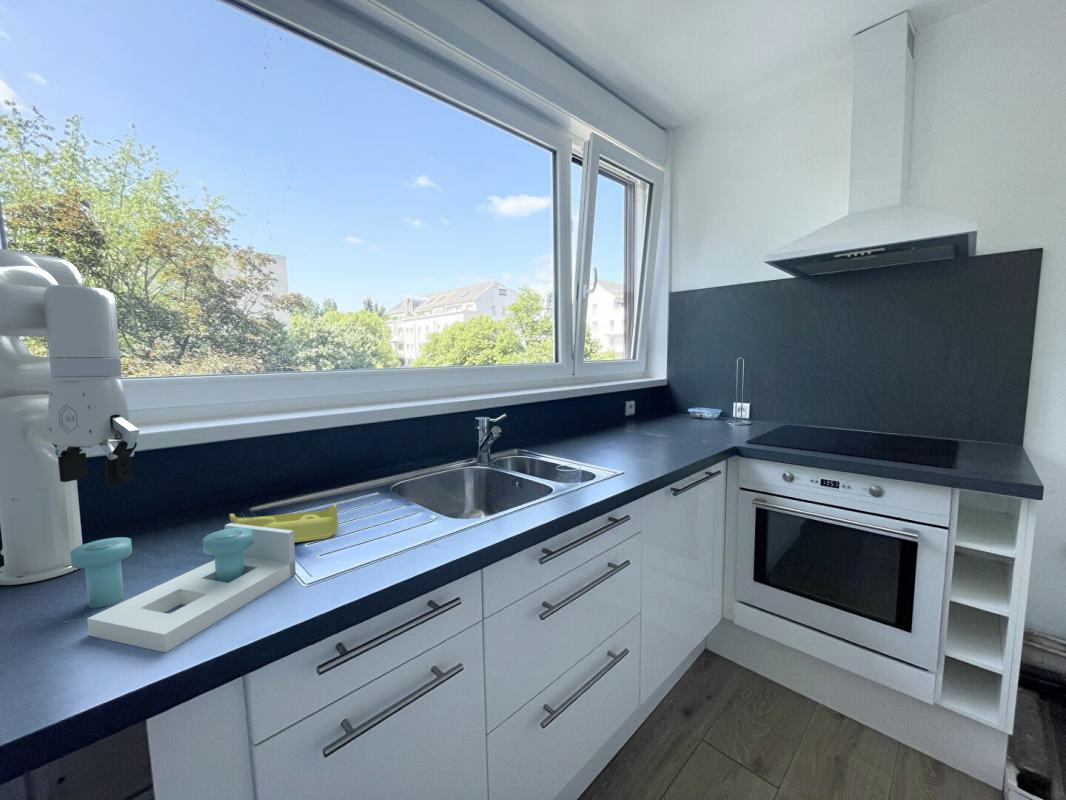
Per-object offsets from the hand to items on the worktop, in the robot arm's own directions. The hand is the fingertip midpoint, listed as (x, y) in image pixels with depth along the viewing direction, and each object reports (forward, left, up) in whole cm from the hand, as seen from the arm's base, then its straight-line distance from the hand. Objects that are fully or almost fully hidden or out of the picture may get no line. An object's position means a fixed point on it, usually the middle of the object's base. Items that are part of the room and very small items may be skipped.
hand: (97, 481), depth 68 cm
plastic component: (+7, +29, -20) cm, 36 cm away
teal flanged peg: (+15, +9, -19) cm, 26 cm away
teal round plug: (0, 0, -19) cm, 19 cm away
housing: (+15, +4, -19) cm, 25 cm away
